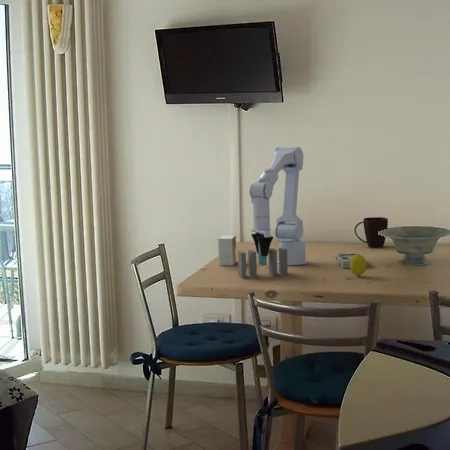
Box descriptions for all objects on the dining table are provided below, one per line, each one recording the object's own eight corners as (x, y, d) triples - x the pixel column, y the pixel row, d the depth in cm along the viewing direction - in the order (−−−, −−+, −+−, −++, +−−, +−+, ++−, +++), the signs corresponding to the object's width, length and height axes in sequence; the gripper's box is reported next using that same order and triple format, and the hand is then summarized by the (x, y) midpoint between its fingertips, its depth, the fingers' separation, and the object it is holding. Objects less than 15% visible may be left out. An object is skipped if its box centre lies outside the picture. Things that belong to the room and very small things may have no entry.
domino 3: (273, 272, 246) (272, 248, 245) (277, 275, 241) (276, 250, 240) (269, 273, 246) (268, 248, 244) (273, 276, 241) (272, 250, 240)
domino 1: (242, 275, 244) (242, 250, 242) (246, 278, 239) (245, 252, 238) (238, 275, 243) (237, 250, 242) (241, 278, 239) (241, 253, 237)
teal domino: (262, 262, 245) (262, 237, 243) (266, 265, 240) (266, 240, 239) (258, 263, 244) (257, 238, 243) (262, 265, 239) (261, 240, 238)
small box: (233, 265, 261) (232, 238, 259) (218, 265, 262) (217, 238, 261) (236, 261, 269) (236, 235, 267) (222, 261, 270) (222, 235, 268)
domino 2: (253, 274, 244) (252, 249, 243) (256, 277, 240) (256, 252, 238) (248, 274, 244) (248, 249, 243) (252, 277, 239) (251, 252, 238)
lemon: (357, 279, 232) (356, 255, 231) (346, 276, 237) (346, 253, 236) (369, 277, 234) (369, 254, 233) (359, 274, 239) (359, 251, 238)
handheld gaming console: (342, 260, 248) (334, 252, 263) (342, 269, 249) (334, 262, 264) (367, 259, 249) (358, 251, 264) (368, 268, 249) (358, 260, 264)
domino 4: (283, 272, 247) (282, 247, 246) (287, 274, 242) (287, 249, 241) (279, 272, 247) (278, 247, 245) (283, 275, 242) (282, 250, 240)
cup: (390, 248, 286) (390, 220, 284) (356, 249, 286) (356, 221, 284) (384, 244, 296) (384, 216, 294) (352, 245, 296) (352, 218, 294)
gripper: (245, 214, 246) (246, 252, 248) (255, 219, 232) (256, 259, 234) (264, 213, 247) (265, 250, 249) (275, 218, 233) (276, 257, 235)
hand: (262, 254), depth 242 cm, fingers closed on teal domino, 5 cm apart
